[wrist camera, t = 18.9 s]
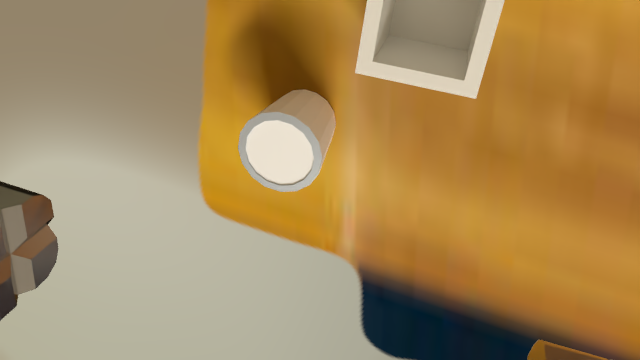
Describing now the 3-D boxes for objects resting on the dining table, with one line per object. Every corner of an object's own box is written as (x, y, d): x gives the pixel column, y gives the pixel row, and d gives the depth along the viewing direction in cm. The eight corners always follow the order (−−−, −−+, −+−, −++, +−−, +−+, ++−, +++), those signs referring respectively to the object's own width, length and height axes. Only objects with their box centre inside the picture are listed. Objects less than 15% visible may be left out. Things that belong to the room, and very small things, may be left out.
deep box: (509, -49, 38) (513, -32, 31) (478, 62, 42) (475, 98, 35) (396, -68, 39) (376, -56, 33) (376, 42, 43) (355, 72, 37)
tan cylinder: (283, 68, 47) (253, 96, 41) (355, 105, 46) (335, 138, 40) (257, 133, 50) (226, 167, 44) (324, 167, 50) (302, 206, 44)
